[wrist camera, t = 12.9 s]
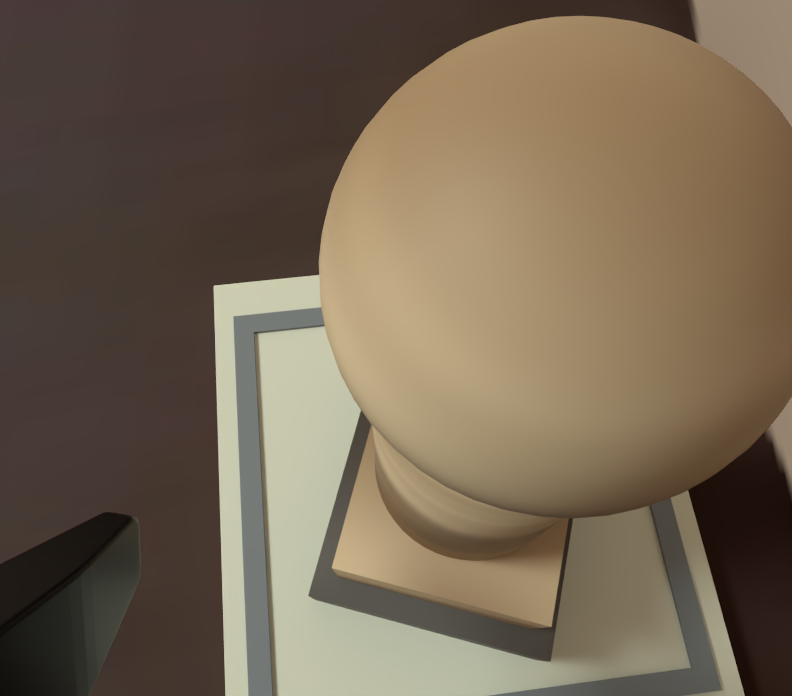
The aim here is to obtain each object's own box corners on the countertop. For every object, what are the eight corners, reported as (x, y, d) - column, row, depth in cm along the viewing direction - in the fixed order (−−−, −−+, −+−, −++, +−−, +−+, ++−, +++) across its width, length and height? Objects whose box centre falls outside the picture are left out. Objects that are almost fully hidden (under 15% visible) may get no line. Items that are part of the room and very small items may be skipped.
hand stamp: (536, 660, 16) (1085, 727, 3) (315, 599, 16) (81, 463, 4) (578, 404, 18) (1000, -119, 6) (383, 357, 18) (376, -227, 6)
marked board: (743, 735, 16) (759, 739, 15) (234, 808, 15) (228, 815, 14) (613, 255, 20) (620, 242, 19) (218, 296, 19) (212, 283, 19)
